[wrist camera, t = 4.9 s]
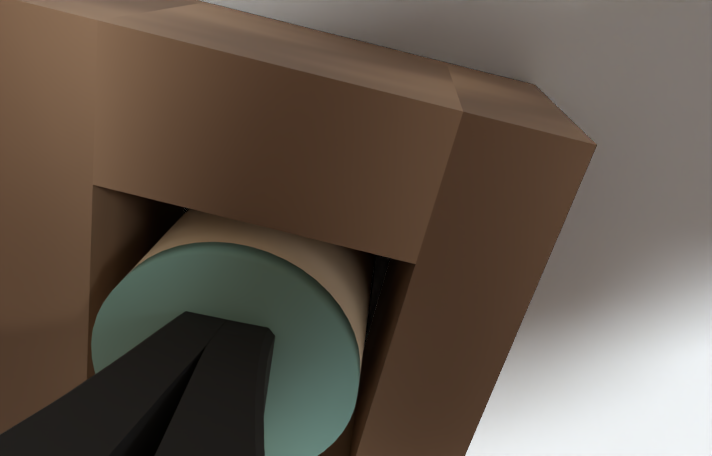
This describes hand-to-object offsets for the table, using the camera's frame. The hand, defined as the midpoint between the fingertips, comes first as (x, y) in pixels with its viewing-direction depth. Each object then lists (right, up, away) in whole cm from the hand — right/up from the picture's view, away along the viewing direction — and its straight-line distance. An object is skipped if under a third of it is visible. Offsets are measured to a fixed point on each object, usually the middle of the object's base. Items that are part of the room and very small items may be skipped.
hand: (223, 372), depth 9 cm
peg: (0, +2, +4) cm, 4 cm away
